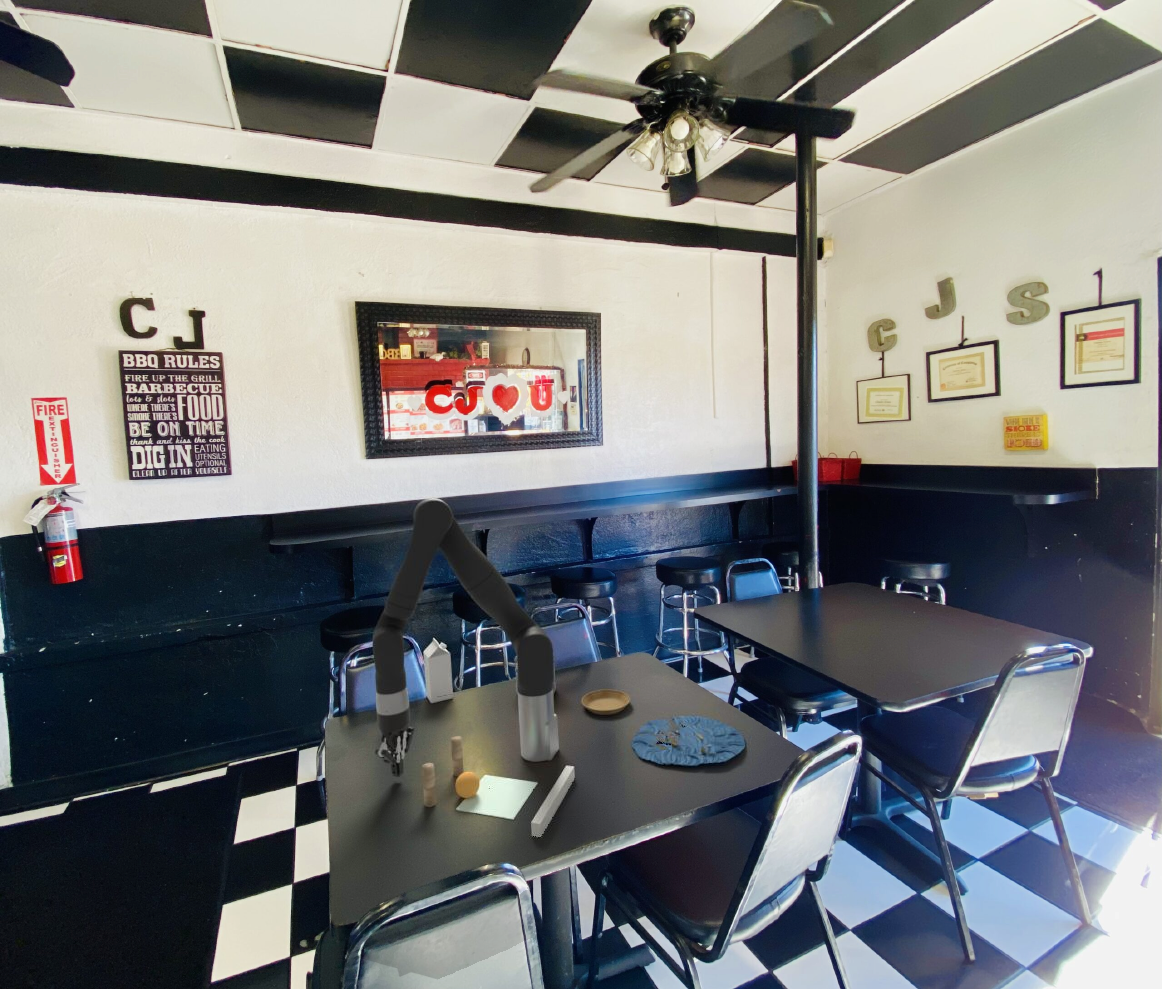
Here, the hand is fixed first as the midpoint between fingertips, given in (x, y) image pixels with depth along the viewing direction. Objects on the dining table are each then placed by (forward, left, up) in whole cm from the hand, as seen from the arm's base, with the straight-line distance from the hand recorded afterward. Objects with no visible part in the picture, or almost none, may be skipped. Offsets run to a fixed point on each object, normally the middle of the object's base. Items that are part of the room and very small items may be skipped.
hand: (398, 774), depth 143 cm
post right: (-13, -6, -2) cm, 15 cm away
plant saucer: (-39, -50, -2) cm, 63 cm away
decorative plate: (-66, -34, -2) cm, 74 cm away
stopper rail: (-41, 0, -2) cm, 41 cm away
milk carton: (+16, -45, -2) cm, 48 cm away
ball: (-20, +2, +1) cm, 20 cm away
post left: (-13, +6, -2) cm, 15 cm away
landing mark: (-27, 0, -2) cm, 27 cm away
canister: (-14, -55, -2) cm, 57 cm away
